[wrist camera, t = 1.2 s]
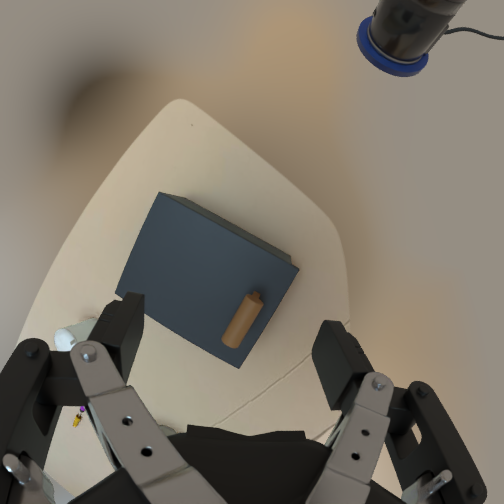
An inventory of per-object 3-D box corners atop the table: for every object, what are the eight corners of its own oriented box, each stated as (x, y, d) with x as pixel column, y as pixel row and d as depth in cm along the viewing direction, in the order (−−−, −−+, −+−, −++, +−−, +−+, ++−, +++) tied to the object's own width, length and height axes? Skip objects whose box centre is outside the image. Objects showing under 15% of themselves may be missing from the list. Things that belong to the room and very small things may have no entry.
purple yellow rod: (92, 383, 43) (72, 423, 46) (90, 387, 42) (70, 426, 45) (104, 391, 44) (83, 429, 46) (102, 395, 43) (81, 433, 45)
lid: (299, 268, 30) (302, 277, 25) (239, 366, 32) (232, 388, 27) (161, 192, 31) (140, 187, 26) (117, 291, 32) (94, 301, 27)
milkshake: (114, 335, 42) (78, 359, 32) (92, 342, 43) (56, 365, 33) (102, 308, 42) (63, 328, 32) (81, 317, 42) (42, 336, 32)
